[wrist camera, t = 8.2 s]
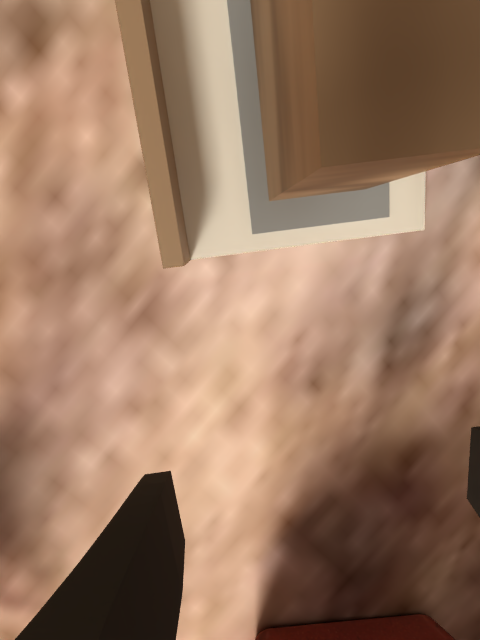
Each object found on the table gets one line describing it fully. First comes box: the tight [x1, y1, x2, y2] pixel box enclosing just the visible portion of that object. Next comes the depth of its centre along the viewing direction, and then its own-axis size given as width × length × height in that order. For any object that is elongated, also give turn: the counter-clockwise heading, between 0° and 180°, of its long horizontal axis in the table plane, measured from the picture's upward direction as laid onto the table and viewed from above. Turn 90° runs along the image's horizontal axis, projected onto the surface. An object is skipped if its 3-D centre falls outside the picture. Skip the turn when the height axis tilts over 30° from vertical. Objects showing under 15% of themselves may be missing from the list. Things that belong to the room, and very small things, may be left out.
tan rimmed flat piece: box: [115, 0, 426, 269], centre depth 13 cm, size 12×16×4 cm
